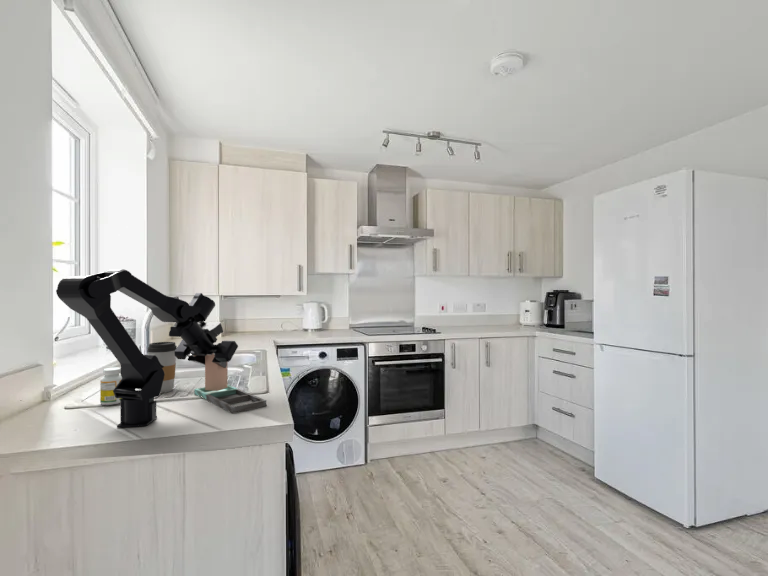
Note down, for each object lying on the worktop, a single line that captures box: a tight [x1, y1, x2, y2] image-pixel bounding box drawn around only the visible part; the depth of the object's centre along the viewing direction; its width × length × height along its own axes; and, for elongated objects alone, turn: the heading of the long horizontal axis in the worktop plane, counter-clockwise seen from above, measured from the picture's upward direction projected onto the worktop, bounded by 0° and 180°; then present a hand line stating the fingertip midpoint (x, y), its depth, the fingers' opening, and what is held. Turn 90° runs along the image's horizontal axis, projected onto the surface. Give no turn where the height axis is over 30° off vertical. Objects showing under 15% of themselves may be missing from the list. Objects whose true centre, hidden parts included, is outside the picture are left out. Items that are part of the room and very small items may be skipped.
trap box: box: [194, 384, 267, 414], centre depth 117 cm, size 27×10×2 cm, turn 44°
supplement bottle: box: [99, 367, 122, 406], centre depth 114 cm, size 5×5×10 cm
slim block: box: [204, 354, 229, 391], centre depth 123 cm, size 4×4×13 cm
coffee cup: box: [146, 341, 178, 394], centre depth 127 cm, size 8×8×15 cm
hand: (219, 366), depth 124 cm, fingers closed on slim block, 4 cm apart
